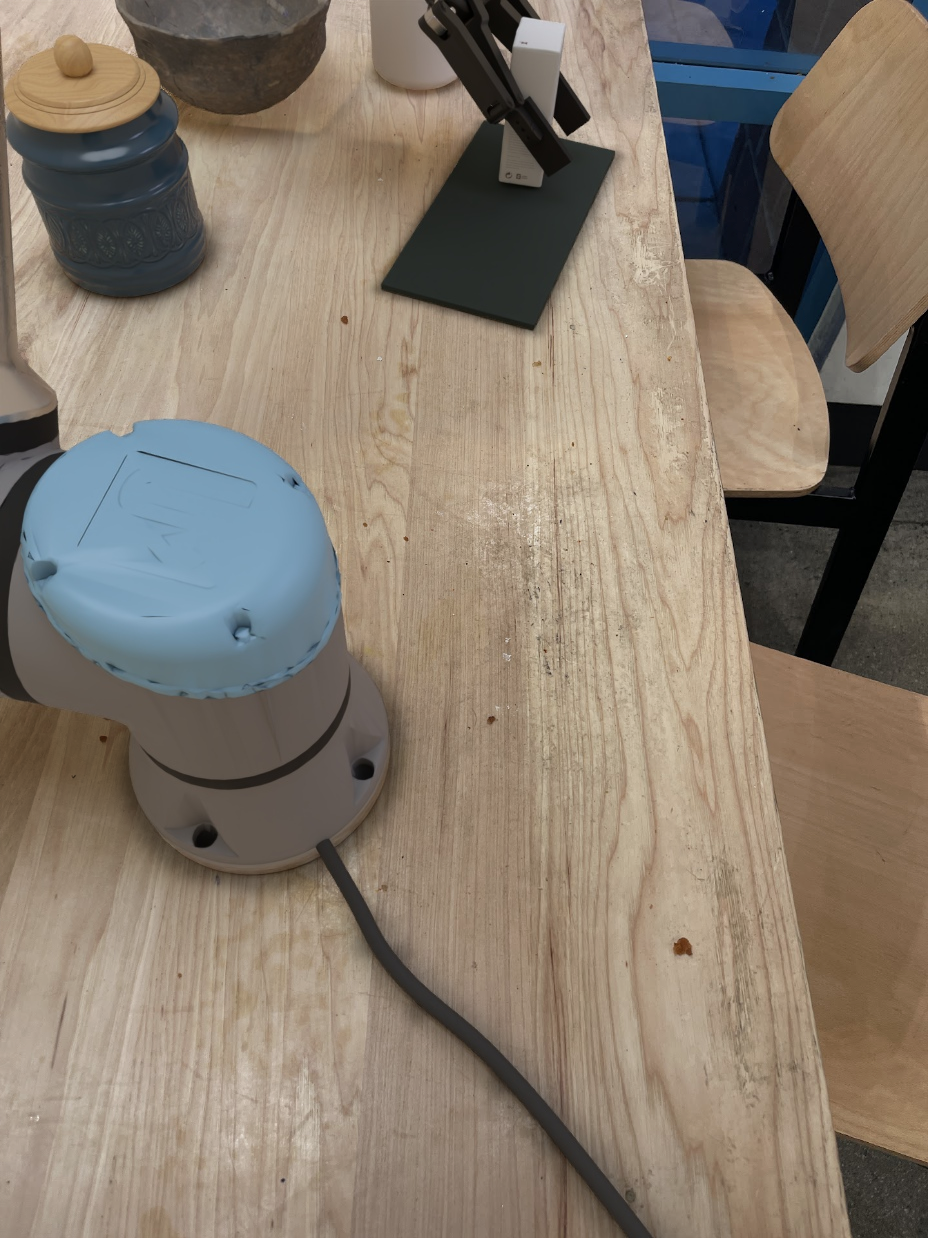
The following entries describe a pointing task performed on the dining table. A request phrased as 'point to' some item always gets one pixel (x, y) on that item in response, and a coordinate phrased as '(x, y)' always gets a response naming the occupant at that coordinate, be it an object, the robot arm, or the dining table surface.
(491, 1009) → the dining table surface
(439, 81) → the cup
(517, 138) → the cosmetic box
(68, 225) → the canister
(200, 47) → the bowl
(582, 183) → the mat
